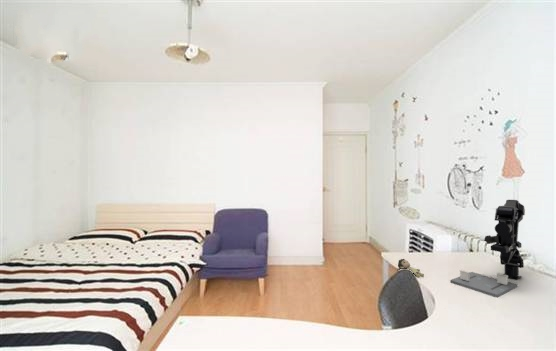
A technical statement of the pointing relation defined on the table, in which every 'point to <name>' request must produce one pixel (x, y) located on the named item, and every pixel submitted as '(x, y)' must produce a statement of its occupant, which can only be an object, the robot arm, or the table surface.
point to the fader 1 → (464, 275)
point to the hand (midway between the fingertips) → (506, 263)
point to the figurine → (406, 265)
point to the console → (485, 284)
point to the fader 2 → (502, 278)
